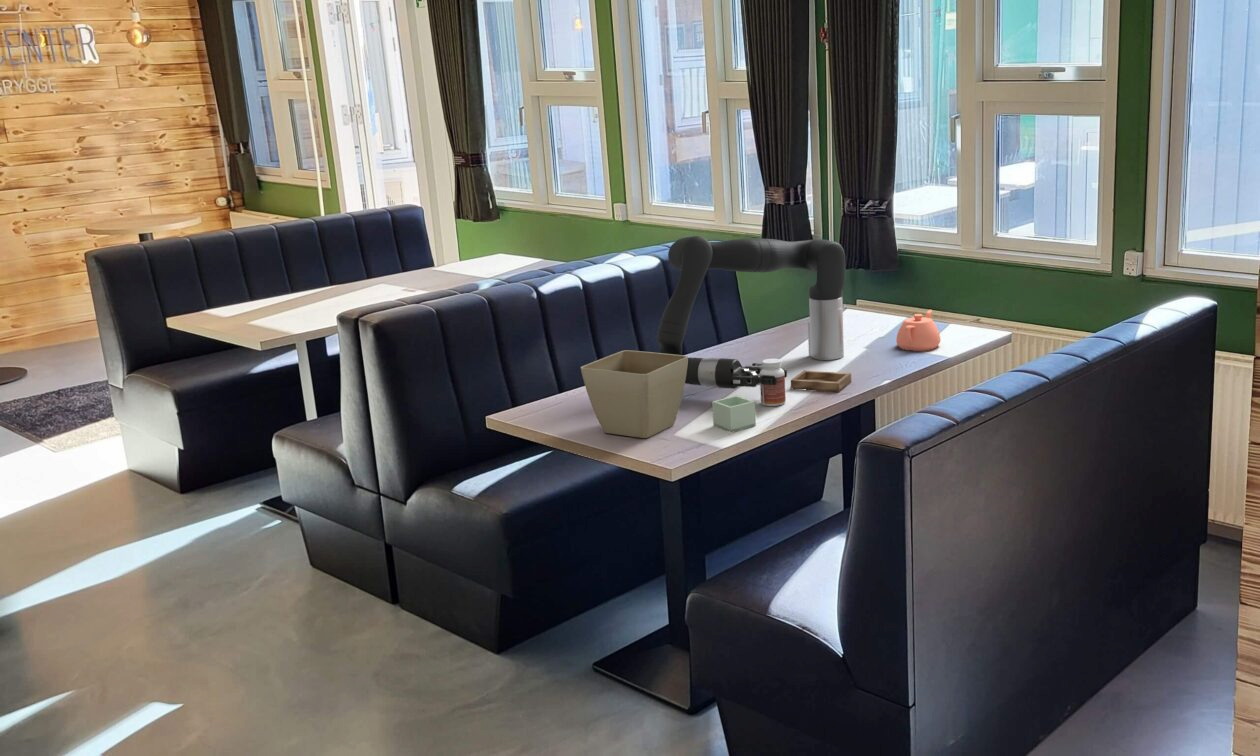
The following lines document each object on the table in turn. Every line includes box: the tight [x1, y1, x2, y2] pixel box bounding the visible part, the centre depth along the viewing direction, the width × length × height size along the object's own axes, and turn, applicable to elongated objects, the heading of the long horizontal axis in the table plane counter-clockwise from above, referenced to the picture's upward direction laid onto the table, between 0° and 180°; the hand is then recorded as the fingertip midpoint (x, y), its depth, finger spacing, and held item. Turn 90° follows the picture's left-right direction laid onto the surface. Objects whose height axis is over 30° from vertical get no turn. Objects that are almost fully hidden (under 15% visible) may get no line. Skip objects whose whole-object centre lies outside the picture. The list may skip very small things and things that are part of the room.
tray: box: [790, 369, 852, 393], centre depth 320 cm, size 13×10×2 cm
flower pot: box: [580, 349, 689, 439], centre depth 292 cm, size 19×19×17 cm
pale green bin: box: [711, 395, 757, 433], centre depth 291 cm, size 7×7×6 cm
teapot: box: [895, 309, 941, 352], centre depth 352 cm, size 12×18×10 cm
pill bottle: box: [759, 358, 786, 407], centre depth 306 cm, size 6×6×11 cm
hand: (781, 377), depth 304 cm, fingers closed on pill bottle, 6 cm apart
